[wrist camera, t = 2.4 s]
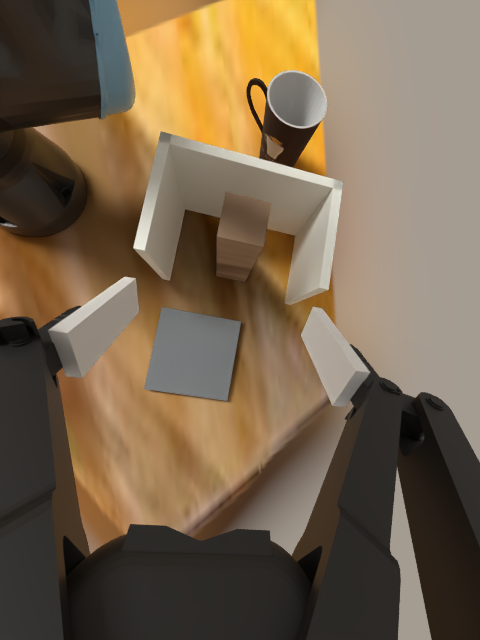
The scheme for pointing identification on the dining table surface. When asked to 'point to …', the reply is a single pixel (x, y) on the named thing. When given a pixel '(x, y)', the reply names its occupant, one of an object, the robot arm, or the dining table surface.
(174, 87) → the dining table surface
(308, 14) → the dining table surface
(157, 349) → the coaster
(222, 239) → the walnut block
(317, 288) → the cubby
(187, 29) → the dining table surface
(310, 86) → the coffee mug
